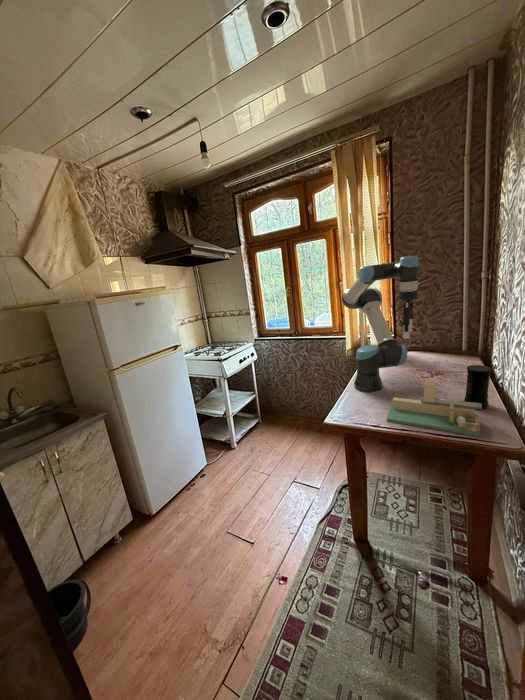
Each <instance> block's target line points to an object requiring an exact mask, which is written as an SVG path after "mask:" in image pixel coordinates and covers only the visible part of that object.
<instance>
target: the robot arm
mask: <svg viewBox="0 0 525 700" xmlns="http://www.w3.org/2000/svg"><path fill="white" fill-rule="evenodd" d="M419 263H420V262H419V256H418V255H409V256H408V255H407V256H402V257H400V259H399V261H394V262H386V263H381V264H380V263H379V264H370V265H365V266H361V267H360V268H359V271H358V278H356V280H355V282H353V284H352V285H351V286H350V287H349V288H348V289H346V290H344V292H343V293H342V296H341V302H342V304H343V306H345V308H348V309H351V310H357V309H361V312H362V313H364V314H365V315H366V317H367V321H368V322H369V325H370V328H371V330H372V332H373V335H374V337H375V339H376V343H377V345H376V344H366V345H363V346H360V347H359V348H357V350H356V356H355V358H356V377H355V379H354V383H353V385H354V388H355V389H356V390H358V391H360V392H365V393H367V392H368V393H370V392H371V393H373V392H377V391H381V390H383V387H384V384H383V383H384V382H383V380H382V378H381V376H380V369H384V368H385V369H386V368H392V367H393V368H394V367H398V366H399V367H400V366H403V365H405V363H406V362H407V360H408V350H407V346H406V345H405V344H402V343H399V341H398V339H396V338H394V336H393V335H392V332H391V329H390V328H389V326H388V323H387V321H386V318H385V317H384V314H383V311H382V310H381V305H382V303H383V295H382V292H381V291H380V290H379V289H378V288H376V287H372V288H371V286H372V285H373V284H374V283H375V282H376V281H383V280H391V279H399V291H400V292H399V300H401V301H404V302H403V304H402V305H403V310H402V311H403V316H402V317H403V318H402V322H401V325H402V339H410V335H411V333H412V332H413V319H415V316H414V314H413V313H414V311H413V310H414V302H413V301H414V300H417V299H418V297H419V296H418V295H419V294H418V293H419V292H418V287H419V285H420V282H419V267H420V266H419V265H420V264H419Z"/></svg>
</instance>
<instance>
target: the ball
mask: <svg viewBox="0 0 525 700" xmlns="http://www.w3.org/2000/svg"><path fill="white" fill-rule="evenodd" d="M459 421H463V422H466V419H465V418H464V417H461V416H459V417H457V418H456V422H457V423H458V422H459Z"/></svg>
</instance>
